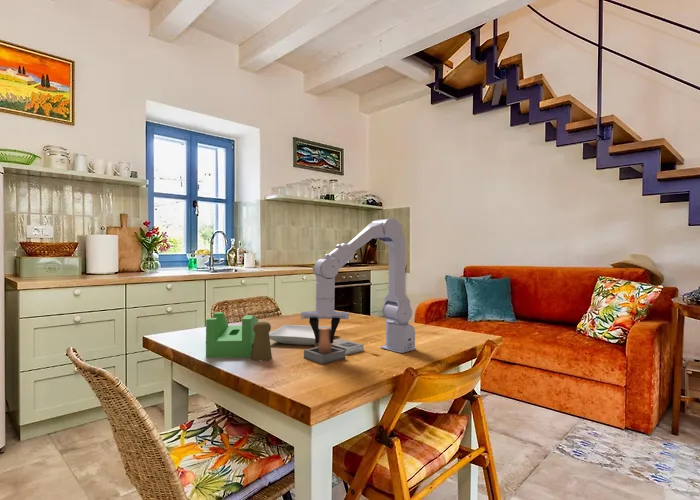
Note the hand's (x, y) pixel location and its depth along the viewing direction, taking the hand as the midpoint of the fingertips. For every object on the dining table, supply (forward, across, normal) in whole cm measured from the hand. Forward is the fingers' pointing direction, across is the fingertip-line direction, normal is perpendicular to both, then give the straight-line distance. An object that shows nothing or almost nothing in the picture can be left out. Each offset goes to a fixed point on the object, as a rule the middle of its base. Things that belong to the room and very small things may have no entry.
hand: (324, 342), depth 123 cm
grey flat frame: (+5, -5, -11) cm, 13 cm away
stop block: (+5, +1, -9) cm, 11 cm away
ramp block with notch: (+6, +31, -12) cm, 34 cm away
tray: (+5, 0, 0) cm, 5 cm away
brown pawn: (+5, +19, +1) cm, 20 cm away
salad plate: (+5, +10, -24) cm, 26 cm away
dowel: (+3, 0, -1) cm, 3 cm away
